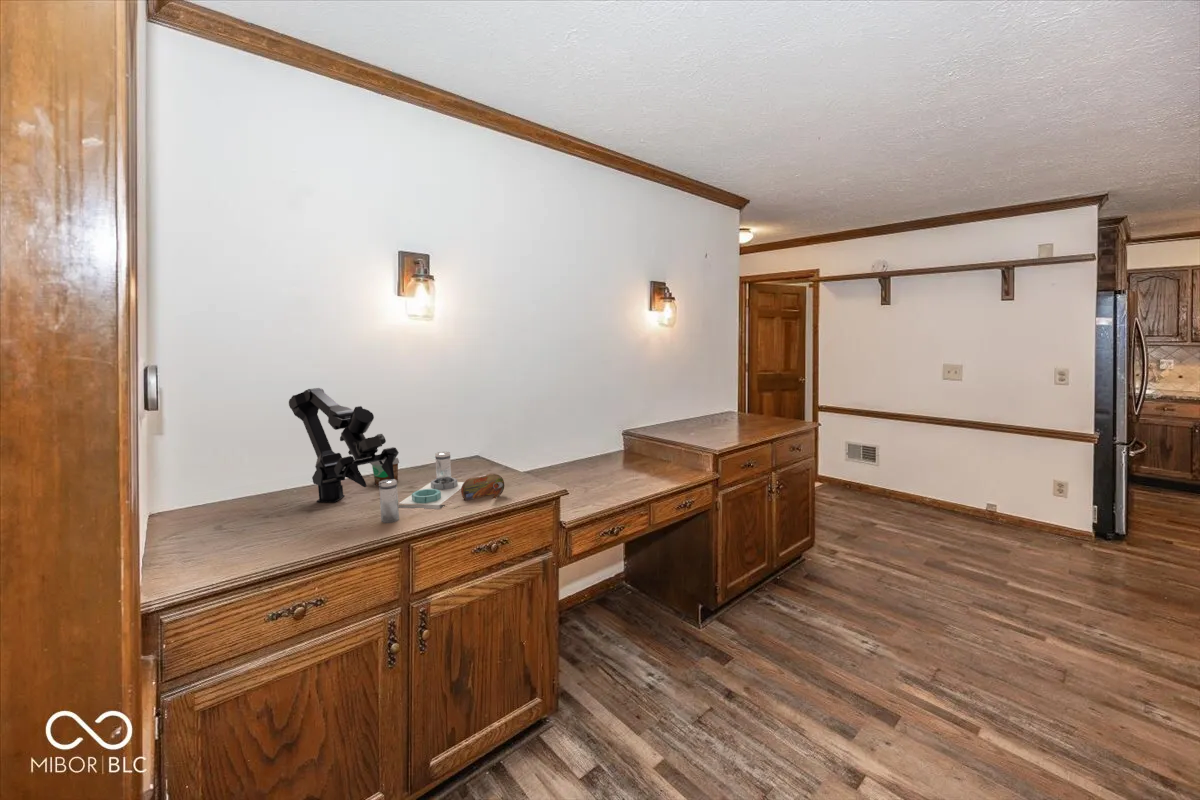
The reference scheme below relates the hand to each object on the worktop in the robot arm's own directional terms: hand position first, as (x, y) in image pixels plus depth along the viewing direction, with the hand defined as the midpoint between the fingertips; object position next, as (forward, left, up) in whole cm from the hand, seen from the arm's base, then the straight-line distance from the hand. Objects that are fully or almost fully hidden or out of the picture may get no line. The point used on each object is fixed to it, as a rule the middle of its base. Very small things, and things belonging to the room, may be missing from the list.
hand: (379, 482), depth 161 cm
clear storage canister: (+3, -2, -11) cm, 12 cm away
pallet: (+10, +20, -11) cm, 25 cm away
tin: (+27, +17, -11) cm, 34 cm away
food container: (-15, +35, -11) cm, 40 cm away
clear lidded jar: (+11, +27, -9) cm, 31 cm away
